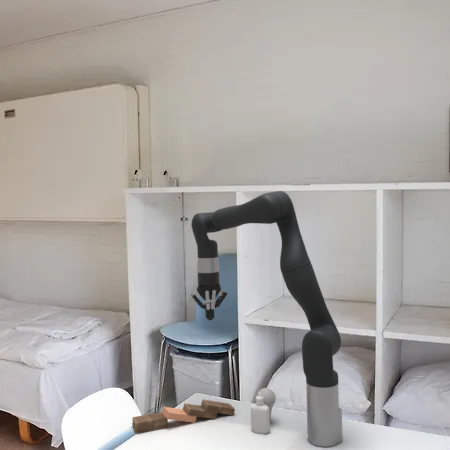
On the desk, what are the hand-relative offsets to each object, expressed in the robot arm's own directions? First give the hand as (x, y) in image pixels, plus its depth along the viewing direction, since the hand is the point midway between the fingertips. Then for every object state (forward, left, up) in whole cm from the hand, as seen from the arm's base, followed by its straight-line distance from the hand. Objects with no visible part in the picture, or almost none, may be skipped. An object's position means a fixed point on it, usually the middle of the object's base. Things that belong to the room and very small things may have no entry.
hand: (210, 319), depth 186 cm
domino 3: (+10, +12, -28) cm, 32 cm away
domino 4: (+3, +12, -28) cm, 31 cm away
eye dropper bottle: (-7, +28, -29) cm, 41 cm away
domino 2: (+20, +12, -29) cm, 37 cm away
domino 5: (-3, +11, -28) cm, 30 cm away
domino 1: (+19, +13, -27) cm, 35 cm away
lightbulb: (-11, +23, -29) cm, 39 cm away
